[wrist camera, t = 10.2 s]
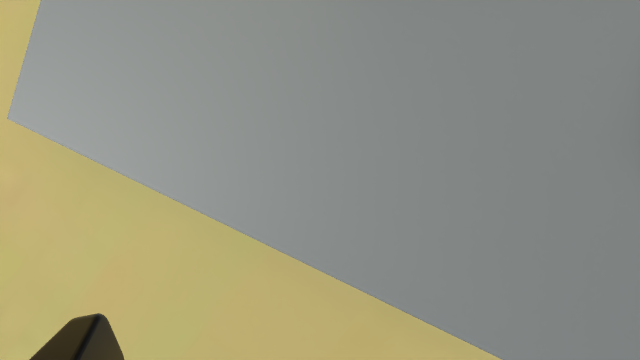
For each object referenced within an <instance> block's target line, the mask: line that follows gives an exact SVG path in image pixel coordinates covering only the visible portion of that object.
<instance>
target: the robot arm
mask: <svg viewBox="0 0 640 360" xmlns="http://www.w3.org/2000/svg"><path fill="white" fill-rule="evenodd" d="M29 360H124V356H123V353H122V351H121V349H120V346H119V344H118V342H117V340H116V337H115V335H114V333H113V331H112V328H111V326H110V324H109V321H108V320H107V318H106V317H105V316H104V315H102V314H99V313H97V314H92V315H87V316H82V317H77V318H74V319H72V320H70V321H69V322H68V323H67V324H66V325H65V326H64V327H63V328H62V329H61V330H60V331H59V332H58V333H57V334H56V335H54V336H53V337H52V338H51V339H50V340H49V341H48V342H47V343H46V344H45V345H44V346H43V347H42V348H41V349H40V350H39V351H38V352H37V353H36V354H35V355H34V356H33V357H32V358H31V359H29Z"/></svg>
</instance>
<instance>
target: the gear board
mask: <svg viewBox="0 0 640 360" xmlns="http://www.w3.org/2000/svg"><path fill="white" fill-rule="evenodd" d="M7 119H9V120H11V121H13V122H15V123H17V124H19V125H21V126H23V127H25V128H28V129H30V130H32V131H34V132H36V133H38V134H40V135H42V136H44V137H46V138H48V139H50V140H52V141H54V142H56V143H58V144H60V145H62V146H65V147H67V148H69V149H71V150H73V151H75V152H77V153H79V154H81V155H83V156H85V157H87V158H89V159H91V160H93V161H95V162H97V163H99V164H102V165H104V166H106V167H108V168H110V169H112V170H114V171H116V172H118V173H120V174H122V175H124V176H126V177H128V178H130V179H132V180H134V181H136V182H139V183H141V184H143V185H145V186H147V187H149V188H151V189H153V190H155V191H157V192H159V193H161V194H163V195H165V196H167V197H169V198H171V199H173V200H176V201H178V202H180V203H182V204H184V205H186V206H188V207H190V208H192V209H194V210H196V211H198V212H200V213H202V214H204V215H206V216H208V217H210V218H213V219H215V220H217V221H219V222H221V223H223V224H225V225H227V226H229V227H231V228H233V229H235V230H237V231H239V232H241V233H243V234H245V235H248V236H250V237H252V238H254V239H256V240H258V241H260V242H262V243H264V244H266V245H268V246H270V247H272V248H274V249H276V250H278V251H280V252H282V253H285V254H287V255H289V256H291V257H293V258H295V259H297V260H299V261H301V262H303V263H305V264H307V265H309V266H311V267H313V268H315V269H317V270H319V271H322V272H324V273H326V274H328V275H330V276H332V277H334V278H336V279H338V280H340V281H342V282H344V283H346V284H348V285H350V286H352V287H354V288H356V289H359V290H361V291H363V292H365V293H367V294H369V295H371V296H373V297H375V298H377V299H379V300H381V301H383V302H385V303H387V304H389V305H391V306H393V307H396V308H398V309H400V310H402V311H404V312H406V313H408V314H410V315H412V316H414V317H416V318H418V319H420V320H422V321H424V322H426V323H428V324H430V325H433V326H435V327H437V328H439V329H441V330H443V331H445V332H447V333H449V334H451V335H453V336H455V337H457V338H459V339H461V340H463V341H465V342H467V343H470V344H472V345H474V346H476V347H478V348H480V349H482V350H484V351H486V352H488V353H490V354H492V355H494V356H496V357H498V358H500V359H502V360H640V0H41V2H40V5H39V9H38V12H37V16H36V19H35V23H34V26H33V30H32V33H31V37H30V40H29V43H28V47H27V50H26V54H25V57H24V61H23V64H22V68H21V71H20V75H19V78H18V82H17V85H16V89H15V92H14V96H13V99H12V103H11V106H10V110H9V113H8V117H7Z"/></svg>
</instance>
